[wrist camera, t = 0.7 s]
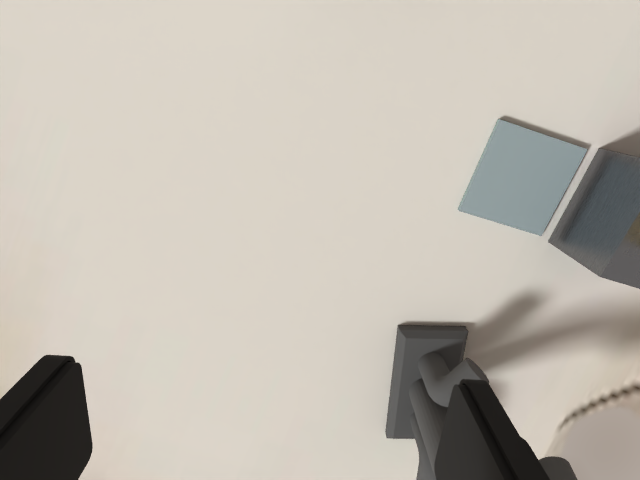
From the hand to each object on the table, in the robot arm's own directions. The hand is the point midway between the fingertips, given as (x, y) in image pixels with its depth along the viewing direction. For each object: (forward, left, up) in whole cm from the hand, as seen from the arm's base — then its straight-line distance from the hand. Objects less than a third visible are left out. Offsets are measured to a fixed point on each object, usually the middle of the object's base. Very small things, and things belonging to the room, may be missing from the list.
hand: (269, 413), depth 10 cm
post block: (-5, +35, -35) cm, 50 cm away
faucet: (+22, +27, -35) cm, 49 cm away
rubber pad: (-5, +23, -35) cm, 42 cm away
